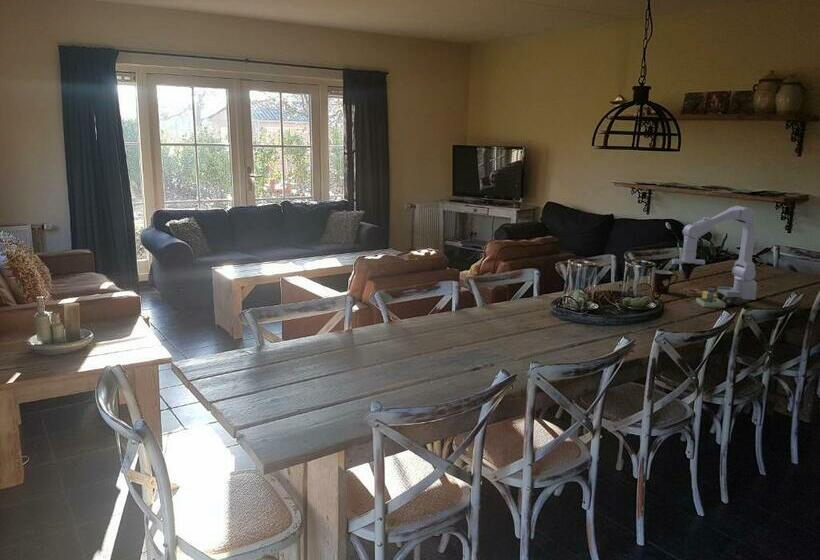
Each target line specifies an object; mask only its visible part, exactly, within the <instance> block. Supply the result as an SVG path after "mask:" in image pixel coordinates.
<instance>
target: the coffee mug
mask: <svg viewBox="0 0 820 560" xmlns="http://www.w3.org/2000/svg"><path fill="white" fill-rule="evenodd" d="M654 271H655V277H654V276H653V285H654V286H653V287H654V288H655V292H654V293H656V292H657V293H658V294H668V293H669V290H670V286H672V285H673V284H675V283H676V282H677V280H678V279H679V278H678V277H679V276H678V274H675V273H673V272H672V271H670V270H662V269H657V270H654ZM673 276H675V277H676V278H675V280H674V281H672V278H673ZM671 281H672V282H671ZM654 288H653V289H654ZM657 293H656V294H657Z"/></svg>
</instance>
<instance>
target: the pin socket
mask: <svg viewBox="0 0 820 560" xmlns="http://www.w3.org/2000/svg"><path fill="white" fill-rule="evenodd" d="M682 294H684V295H685V296H687V297H696V298H702V294H703V291H701V290H700V289H698V288H683V289H682Z"/></svg>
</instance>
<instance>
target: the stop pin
mask: <svg viewBox="0 0 820 560" xmlns="http://www.w3.org/2000/svg"><path fill="white" fill-rule="evenodd" d="M715 290H716V289H715V288H712V287H707V291H708V296H707V303H713V294H715V292H716V291H715Z"/></svg>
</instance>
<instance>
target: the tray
mask: <svg viewBox="0 0 820 560" xmlns="http://www.w3.org/2000/svg"><path fill="white" fill-rule="evenodd" d="M695 302H696V304H699V306H701V307H702V308H718V309H719V308H722V309H724V308H726V306H727V305H726V303H724V302H723V301H722V300H719V299H718V298H713V303H707V298H702V297H696V298H695Z"/></svg>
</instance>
